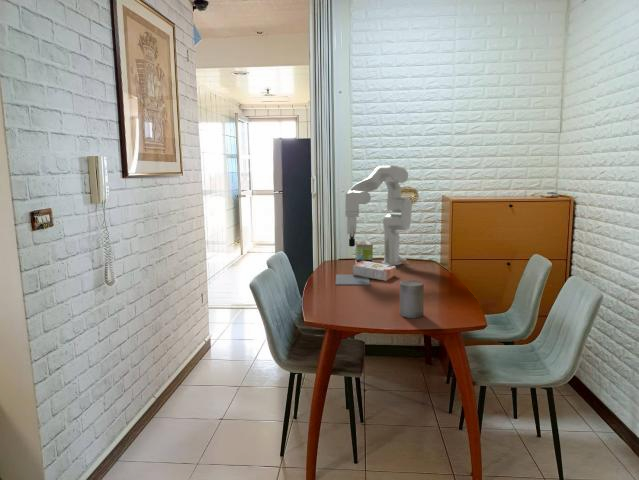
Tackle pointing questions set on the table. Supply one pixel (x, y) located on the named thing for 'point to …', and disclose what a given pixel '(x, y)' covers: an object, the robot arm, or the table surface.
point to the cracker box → (374, 270)
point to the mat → (351, 279)
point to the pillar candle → (411, 298)
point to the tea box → (363, 251)
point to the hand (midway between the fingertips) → (351, 246)
